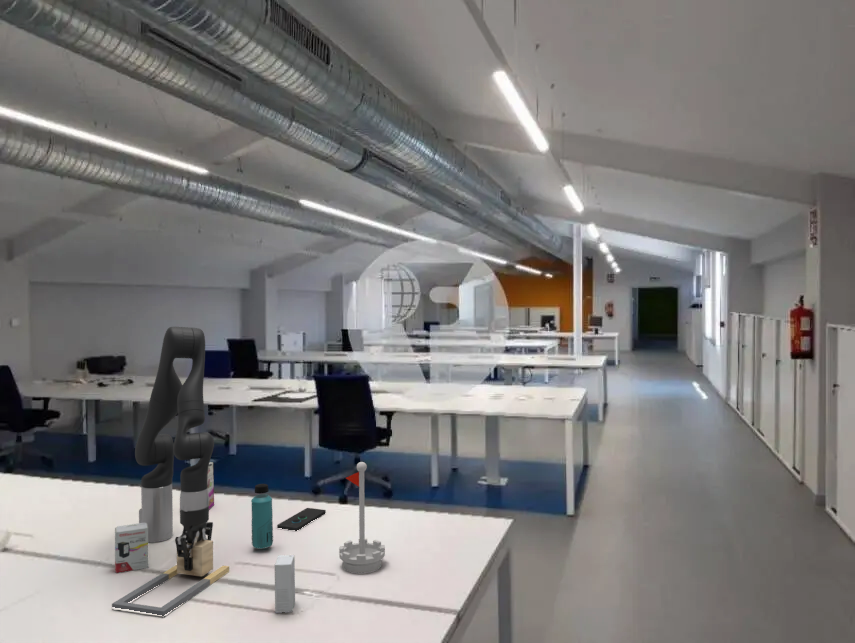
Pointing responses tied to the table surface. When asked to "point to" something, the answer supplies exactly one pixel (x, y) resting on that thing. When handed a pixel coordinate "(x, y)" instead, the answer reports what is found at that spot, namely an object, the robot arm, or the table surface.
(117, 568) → the ink box
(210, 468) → the candy bar box
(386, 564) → the table surface
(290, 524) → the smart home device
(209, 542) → the wooden block
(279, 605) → the skincare box
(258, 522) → the beverage bottle
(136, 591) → the rail bay
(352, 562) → the flag stand
